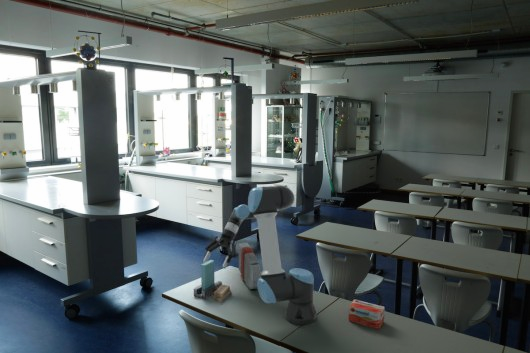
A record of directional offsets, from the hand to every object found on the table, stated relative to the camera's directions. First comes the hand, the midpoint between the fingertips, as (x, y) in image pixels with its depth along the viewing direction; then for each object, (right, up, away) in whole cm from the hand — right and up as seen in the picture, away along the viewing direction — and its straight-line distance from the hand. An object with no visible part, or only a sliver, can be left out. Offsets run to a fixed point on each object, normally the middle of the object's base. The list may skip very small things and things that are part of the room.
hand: (213, 265), depth 223 cm
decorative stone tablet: (+19, -12, +8) cm, 24 cm away
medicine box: (+76, -20, -32) cm, 85 cm away
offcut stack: (+6, -15, -9) cm, 18 cm away
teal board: (-3, -14, -4) cm, 15 cm away
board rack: (-3, -14, -4) cm, 15 cm away
